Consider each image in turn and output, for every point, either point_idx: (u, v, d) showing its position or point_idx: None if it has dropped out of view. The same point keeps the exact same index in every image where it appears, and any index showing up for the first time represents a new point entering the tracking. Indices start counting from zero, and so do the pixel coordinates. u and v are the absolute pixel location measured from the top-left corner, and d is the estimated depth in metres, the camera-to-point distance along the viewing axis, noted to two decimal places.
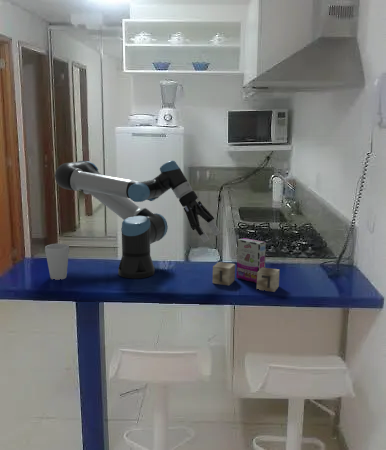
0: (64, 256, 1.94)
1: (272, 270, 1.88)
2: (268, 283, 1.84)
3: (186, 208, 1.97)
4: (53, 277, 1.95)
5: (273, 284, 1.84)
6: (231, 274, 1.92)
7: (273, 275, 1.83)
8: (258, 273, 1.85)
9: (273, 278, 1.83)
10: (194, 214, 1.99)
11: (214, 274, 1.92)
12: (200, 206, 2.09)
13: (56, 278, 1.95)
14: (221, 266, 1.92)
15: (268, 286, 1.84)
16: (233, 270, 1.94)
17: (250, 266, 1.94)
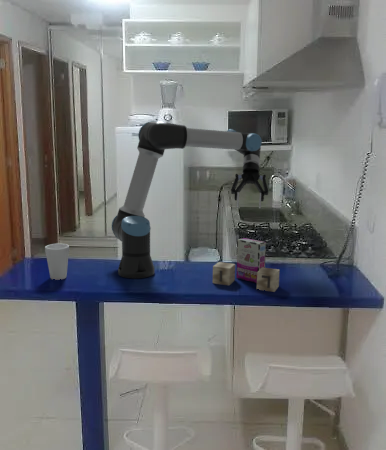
0: (64, 256, 1.94)
1: (272, 270, 1.88)
2: (268, 283, 1.84)
3: (265, 178, 2.20)
4: (53, 277, 1.95)
5: (273, 284, 1.84)
6: (231, 274, 1.92)
7: (273, 275, 1.83)
8: (258, 273, 1.85)
9: (273, 278, 1.83)
10: None
11: (214, 274, 1.92)
12: (238, 179, 2.22)
13: (56, 278, 1.95)
14: (221, 266, 1.92)
15: (268, 286, 1.84)
16: (233, 270, 1.94)
17: (250, 266, 1.94)
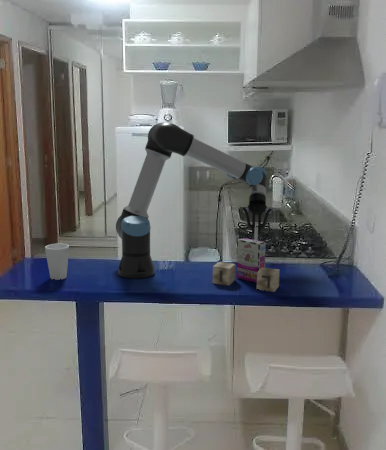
0: (64, 256, 1.94)
1: (272, 270, 1.88)
2: (268, 283, 1.84)
3: (270, 212, 2.16)
4: (53, 277, 1.95)
5: (273, 284, 1.84)
6: (231, 274, 1.92)
7: (273, 275, 1.83)
8: (258, 273, 1.85)
9: (273, 278, 1.83)
10: None
11: (214, 274, 1.92)
12: None
13: (56, 278, 1.95)
14: (221, 266, 1.92)
15: (268, 286, 1.84)
16: (233, 270, 1.94)
17: (250, 266, 1.94)
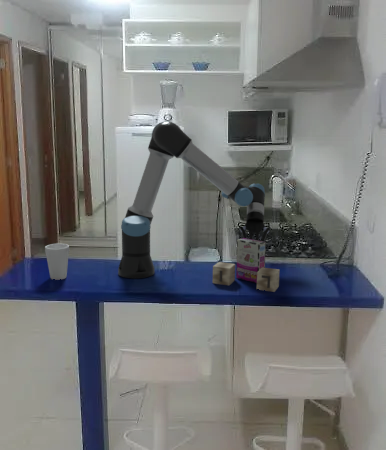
0: (64, 256, 1.94)
1: (272, 270, 1.88)
2: (268, 283, 1.84)
3: (268, 231, 2.08)
4: (53, 277, 1.95)
5: (273, 284, 1.84)
6: (231, 274, 1.92)
7: (273, 275, 1.83)
8: (258, 273, 1.85)
9: (273, 278, 1.83)
10: None
11: (214, 274, 1.92)
12: None
13: (56, 278, 1.95)
14: (221, 266, 1.92)
15: (268, 286, 1.84)
16: (233, 270, 1.94)
17: (250, 266, 1.94)
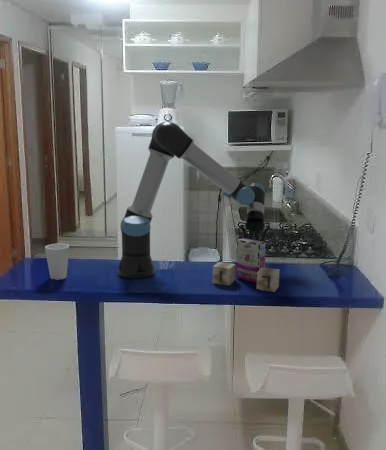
0: (64, 256, 1.94)
1: (272, 270, 1.88)
2: (268, 283, 1.84)
3: (268, 230, 2.10)
4: (53, 277, 1.95)
5: (273, 284, 1.84)
6: (231, 274, 1.92)
7: (273, 275, 1.83)
8: (258, 273, 1.85)
9: (273, 278, 1.83)
10: None
11: (214, 274, 1.92)
12: None
13: (56, 278, 1.95)
14: (221, 266, 1.92)
15: (268, 286, 1.84)
16: (233, 270, 1.94)
17: (250, 266, 1.94)
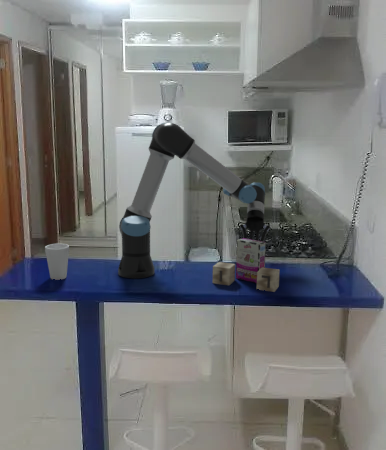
0: (64, 256, 1.94)
1: (272, 270, 1.88)
2: (268, 283, 1.84)
3: (268, 229, 2.12)
4: (53, 277, 1.95)
5: (273, 284, 1.84)
6: (231, 274, 1.92)
7: (273, 275, 1.83)
8: (258, 273, 1.85)
9: (273, 278, 1.83)
10: None
11: (214, 274, 1.92)
12: (244, 229, 2.13)
13: (56, 278, 1.95)
14: (221, 266, 1.92)
15: (268, 286, 1.84)
16: (233, 270, 1.94)
17: (250, 266, 1.94)
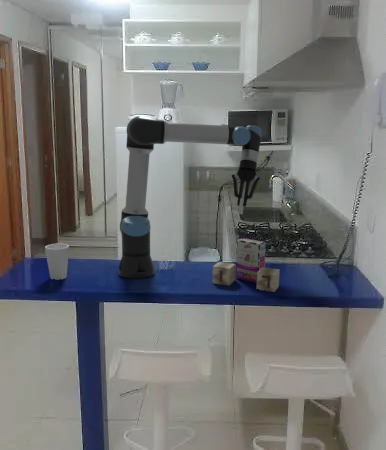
0: (64, 256, 1.94)
1: (272, 270, 1.88)
2: (268, 283, 1.84)
3: (259, 180, 2.13)
4: (53, 277, 1.95)
5: (273, 284, 1.84)
6: (231, 274, 1.92)
7: (273, 275, 1.83)
8: (258, 273, 1.85)
9: (273, 278, 1.83)
10: (249, 185, 2.14)
11: (214, 274, 1.92)
12: (236, 179, 2.16)
13: (56, 278, 1.95)
14: (221, 266, 1.92)
15: (268, 286, 1.84)
16: (233, 270, 1.94)
17: (250, 266, 1.94)
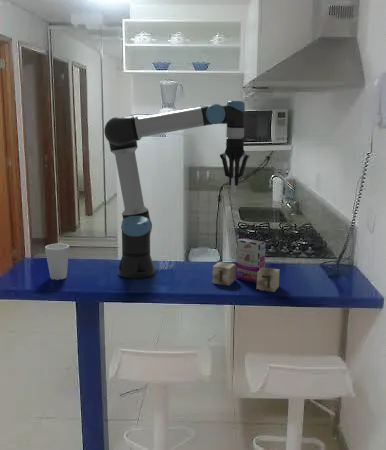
0: (64, 256, 1.94)
1: (272, 270, 1.88)
2: (268, 283, 1.84)
3: (248, 157, 2.08)
4: (53, 277, 1.95)
5: (273, 284, 1.84)
6: (231, 274, 1.92)
7: (273, 275, 1.83)
8: (258, 273, 1.85)
9: (273, 278, 1.83)
10: None
11: (214, 274, 1.92)
12: None
13: (56, 278, 1.95)
14: (221, 266, 1.92)
15: (268, 286, 1.84)
16: (233, 270, 1.94)
17: (250, 266, 1.94)
